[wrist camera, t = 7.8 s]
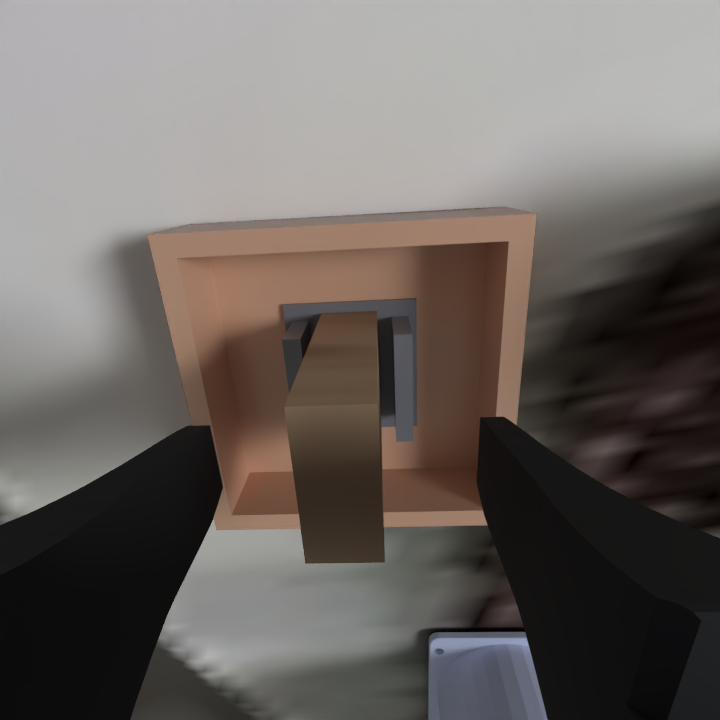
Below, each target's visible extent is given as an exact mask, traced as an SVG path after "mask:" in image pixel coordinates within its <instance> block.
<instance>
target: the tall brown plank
mask: <svg viewBox="0 0 720 720" xmlns="http://www.w3.org/2000/svg"><path fill="white" fill-rule="evenodd" d="M284 411H285V418H286V425H287V433H288V440H289V447H290V454H291V462H292V469H293V476H294V483H295V491H296V498H297V505H298V512H299V520H300V527H301V534H302V541H303V549H304V556H305V563H372V562H385V557H384V514H383V471H382V428H381V400H380V376H379V352H378V328H377V311H361V312H338V313H321V316H320V318H319V321H318V323H317V326H316V328H315V331H314V333H313V336H312V338H311V341H310V343H309V346H308V348H307V351H306V353H305V356H304V358H303V361H302V363H301V366H300V368H299V371H298V373H297V376H296V378H295V381H294V383H293V386H292V388H291V390H290V393H289V395H288V398H287V400H286V403H285V405H284Z"/></svg>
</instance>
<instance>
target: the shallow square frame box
mask: <svg viewBox="0 0 720 720" xmlns="http://www.w3.org/2000/svg"><path fill="white" fill-rule="evenodd" d="M536 216H537V214H536V213H531V212H527V211H522V210H517V209H513V208H508V207H491V208H473V209H455V210H437V211H419V212H401V213H382V214H364V215H346V216H328V217H310V218H292V219H274V220H255V221H237V222H219V223H201V224H189V225H185V226H181V227H177V228H173V229H169V230H165V231H161V232H157V233H153V234H148V240H149V244H150V248H151V253H152V257H153V261H154V265H155V270H156V274H157V278H158V282H159V287H160V291H161V295H162V300H163V304H164V308H165V312H166V317H167V321H168V325H169V329H170V334H171V338H172V342H173V346H174V351H175V355H176V359H177V364H178V368H179V372H180V376H181V381H182V385H183V389H184V393H185V398H186V402H187V406H188V411H189V415H190V419H191V423H192V426H200V425H210V428H211V432H212V437H213V442H214V446H215V451H216V456H217V461H218V465H219V470H220V475H221V479H222V484H223V490H222V493H221V496H220V499H219V503H218V506H217V509H216V512H215V515H214V522H215V526H216V530H248V529H301V527H300V520H299V512H298V505H297V498H296V491H295V483H294V476H293V469H292V462H291V454H290V447H289V440H288V433H287V425H286V418H285V411H284V405H285V403H286V400H287V398H288V395H289V393H290V390H291V388H292V386H293V383H294V381H295V378H296V376H297V373H298V371H299V368H300V366H301V363H302V361H303V358H304V356H305V353H306V351H307V348H308V346H309V343H310V341H311V338H312V336H313V333H314V331H315V328H316V326H317V323H318V321H319V318H320V316H321V313H338V312H361V311H377V328H378V352H379V376H380V400H381V428H382V471H383V514H384V527H416V526H472V525H487V522H486V519H485V516H484V512H483V508H482V504H481V500H480V496H479V491H478V487H477V464H478V446H479V428H480V417H505V418H507V419H508V420H510V421H511V422H513V423H514V424H515V425H517V415H518V404H519V394H520V383H521V373H522V362H523V352H524V342H525V331H526V321H527V310H528V300H529V289H530V279H531V269H532V258H533V248H534V237H535V227H536Z"/></svg>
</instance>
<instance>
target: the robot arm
mask: <svg viewBox="0 0 720 720" xmlns="http://www.w3.org/2000/svg"><path fill="white" fill-rule="evenodd" d="M477 487H478V491H479V496H480V500H481V504H482V508H483V512H484V516H485V519H486V522H487V525H488V527H489V530H490V533H491V536H492V538H493V541H494V544H495V546H496V549H497V552H498V554H499V557H500V560H501V562H502V565H503V567H504V570H505V573H506V575H507V578H508V581H509V583H510V586H511V589H512V591H513V594H514V597H515V600H516V603H517V606H518V609H519V612H520V615H521V619H522V622H523V626H524V630H525V632H436V633H433V634H431V635H430V636H429V661H428V720H720V538H718V537H715V536H712V535H710V534H707V533H705V532H702V531H700V530H697V529H695V528H692V527H690V526H687V525H685V524H683V523H681V522H678V521H676V520H674V519H672V518H669V517H667V516H665V515H663V514H660V513H658V512H656V511H654V510H651V509H649V508H647V507H645V506H643V505H641V504H639V503H637V502H635V501H633V500H631V499H629V498H627V497H625V496H624V495H622V494H620V493H618V492H616V491H614V490H612V489H610V488H609V487H607V486H605V485H603V484H602V483H600V482H598V481H596V480H595V479H593V478H591V477H590V476H588V475H587V474H585V473H583V472H582V471H580V470H579V469H577V468H575V467H574V466H572V465H571V464H569V463H568V462H566V461H565V460H563V459H562V458H560V457H559V456H557V455H556V454H555V453H553V452H552V451H550V450H549V449H548V448H546V447H545V446H543V445H542V444H541V443H539V442H538V441H537V440H535V439H534V438H533V437H531V436H530V435H529V434H527V433H526V432H525V431H523V430H522V429H521V428H519V427H518V426H517V425H515V424H514V423H513V422H511V421H510V420H508V419H507V418H505V417H480V428H479V446H478V464H477ZM222 490H223V484H222V479H221V475H220V470H219V465H218V461H217V456H216V451H215V446H214V442H213V437H212V432H211V428H210V425H200V426H187V427H185V428H183V429H181V430H179V431H177V432H175V433H173V434H171V435H170V436H168V437H166V438H165V439H163V440H161V441H160V442H158V443H157V444H155V445H153V446H152V447H150V448H148V449H147V450H145V451H144V452H142V453H140V454H139V455H137V456H135V457H134V458H132V459H130V460H129V461H127V462H126V463H124V464H122V465H121V466H119V467H117V468H115V469H114V470H112V471H110V472H108V473H107V474H105V475H103V476H101V477H100V478H98V479H96V480H94V481H93V482H91V483H89V484H87V485H85V486H84V487H82V488H80V489H78V490H76V491H74V492H72V493H70V494H68V495H66V496H64V497H62V498H60V499H58V500H56V501H54V502H52V503H50V504H48V505H46V506H44V507H42V508H40V509H37V510H35V511H33V512H31V513H29V514H26V515H24V516H22V517H19V518H17V519H14V520H12V521H9V522H7V523H5V524H2V525H0V720H130V718H131V715H132V712H133V709H134V706H135V703H136V700H137V697H138V694H139V691H140V689H141V686H142V683H143V680H144V677H145V674H146V671H147V668H148V665H149V662H150V660H151V657H152V654H153V651H154V649H155V646H156V643H157V641H158V638H159V635H160V633H161V630H162V627H163V625H164V622H165V619H166V617H167V615H168V612H169V610H170V608H171V605H172V603H173V601H174V599H175V597H176V595H177V593H178V591H179V588H180V586H181V584H182V582H183V580H184V578H185V576H186V574H187V572H188V570H189V568H190V566H191V564H192V562H193V560H194V558H195V556H196V554H197V552H198V550H199V548H200V546H201V544H202V542H203V540H204V537H205V535H206V533H207V531H208V529H209V527H210V525H211V523H212V520H213V517H214V515H215V512H216V509H217V506H218V503H219V499H220V496H221V493H222Z"/></svg>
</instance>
